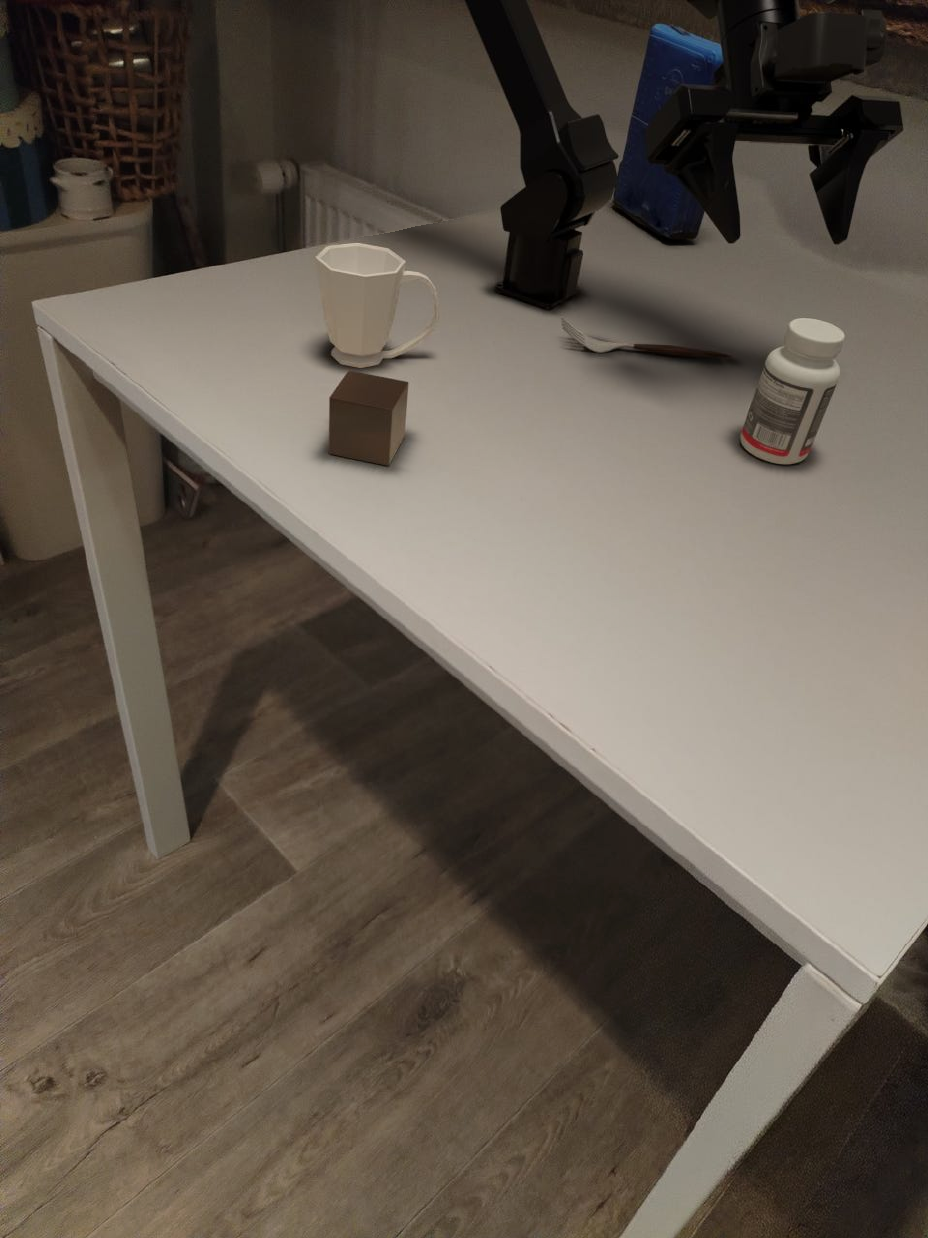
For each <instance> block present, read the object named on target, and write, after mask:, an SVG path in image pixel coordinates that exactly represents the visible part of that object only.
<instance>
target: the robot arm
mask: <svg viewBox="0 0 928 1238" xmlns="http://www.w3.org/2000/svg"><path fill="white" fill-rule="evenodd" d="M463 1H464V4H465V6H466V8H467V11H468V13H469V16H470V17H471V20H472V22H473V24H474V26H475V30H476V31H477V34H478V36H479V39H480V41H481V43H482V46H483V47H484V50H485V52H486V54H487V57H488V59H489V62H490V64H491V66H492V69H493V71H494V73H495V76H496V78H497V80H498V83H499V85H500V88H501V90H502V92H503V95H504V97H505V99H506V101H507V104H508V106H509V108H510V111H511V113H512V115H513V118H514V120H515V123H516V125H517V128H518V130H519V135H520V137H519V139H520V141H519V145H520V146H519V147H520V148H519V149H520V150H519V151H520V154H519V156H520V157H519V161H520V163H519V167H520V172H521V175H522V176H521V177H522V179H523V183H524V187H523V188H522V189H521V190H519V191H518V192H516V193H515V194H514V195H513V196H511V197H510V198H509V199H508V200H507V201H505V202H504V203H503V204H501V206H500V207H499V208H500V216H501V217H500V218H501V224H502V230H503V231H504V232H507V233H508V238H507V247H506V253H505V254H506V255H505V262H504V267H503V276H502V280H500V281H498V282H496V283H495V284H494V287H493V290H494V291H495V292H498V293H501V294H504V295H507V296H510V297H513V298H516V299H518V300H522V301H524V302H528V303H531V304H533V305H536V306H539V307H542V308H545V309H553V308H555V307H556V306H558V305H559V304H561V303H563V302H564V301H566V300H567V299H569V298H570V297H572V296H574V295H575V294H577V293H578V292H579V287H580V286H578V283H579V278H580V273H581V267H582V262H583V257H584V251H583V250H582V249H580V247H581V242H582V237H583V232H582V231H580V230H577V229H579V228H581V227H586V226H588V225H590V222H591V220H592V218H593V217H594V215H595V213H596V212H598V211H600V210H602V209H603V208H604V207H605V206H607V204H608V203H609V202H610V201H611V198H613V196H614V190H615V184H616V183H617V174H618V171H617V167H616V164H615V162H614V161H615V160H617V159H619V157H620V155H619V154H618V153H617V152H616V151H615V149H614V148H613V147H612V145H611V143H610V142H609V139H608V136H607V132H606V127H605V124H604V121H603V119H602V117H601V115H600V114H598V113H596V114H592V115H589V116H585V117H582V116H581V115H580V114H579V113H578V112H577V111H576V110H575V109H574V108H573V107H572V106H571V104H570V102H569V101H568V98H567V95H566V93H565V91H564V89H563V86H562V84H561V81H560V79H559V75H558V73H557V72H556V69H555V67H554V65H553V61H552V59H551V57H550V55H549V53H548V49H547V47H546V45H545V42H544V40H543V37H542V35H541V32H540V30H539V28H538V25H537V23H536V21H535V20H536V19H535V18H534V16H533V13H532V11H531V9H530V6H529V3H528V1H527V0H463ZM822 1H823V2H824V3H826V4H828V5H829V4H831V3H833V2H835V1H836V0H822ZM685 2H687V3H688V4H689V5H690V6H691V7H692V8H694V9H695V10H696V11H697V12H698V13H699V14H700V15H702V16H703V17H704V18H706V20H713V19H714V18H716V21H717V28H718V36H719V40H720V41H719V42H720V43H719V44H720V45H721V50H722V58H723V62H722V64H721V65H720V66H719V67H718V68H717V70H716V71H715V72H714V78H715V86H707V85H691V84H680V85H679V86H678V87H677V89H676V90H675V91H674V92H673V93H672V95H671V96H670V97H669V99H668V100H667V101H666V102H665V104H664V105H663V106H662V107H661V109H660V110H659V111H658V112H657V114H656V115H655V116H654V118H653V119H652V120H651V121H650V123H649V124H648V125H647V127H646V132H645V136H644V142H645V150H646V158H647V160H648V162H649V163H650V164H664V165H663V169H664V172H665V173H666V174H672V175H674V176H675V177H676V178H677V179H678V180H679V181H680V182H681V184H682V185H683V186H684V187H685V188H686V189H687V190H688V191H689V193H690V194H691V195H692V196H693V197H694V198H695V199H696V201H697V202H698V203H699V204H700V206H701V207H702V208H703V210H704V211H705V212H704V213H705V214H706V215H707V216H708V218H709V219H710V220H711V222H712V223H713V225H714V226H715V227H716V229H717V230H718V231H719V233H720V234H721V236H722V237H723V238H724V240H725V241H726V243H727V244H729V245H731V244H735V243H736V242H737V241H739V240H740V238H741V214H740V213H741V212H740V207H739V198H738V192H737V183H736V177H735V169H734V163H733V161H734V160H733V156H734V155H733V153H734V149H735V145H736V142H749V143H750V144H764V145H765V144H768V145H769V144H770V145H771V144H772V145H789V146H791V145H792V146H807V149H808V157H809V161H810V162H811V163H812V164H813V165H814V166H815V167H816V168H815V169H813V171H810V173H809V178H810V182H811V183H812V187H813V190H814V193H815V196H816V199H817V203H818V205H819V209H820V211H821V215H822V218H823V221H824V224H825V227H826V230H827V233H828V234H829V236H830V239H831V241H832V244H834V245H837V246H839V245H841V244H842V243H844V242H845V241H846V240H847V239H848V237H849V232H850V229H851V225H852V220H853V215H854V211H855V207H856V201H857V197H858V193H859V188H860V185H861V181H862V178H863V176H864V172H865V169H866V166H867V164H868V163H869V161H870V159H871V158H872V157H873V156H874V155H875V154H876V153H878V152H879V151H880V150H882V149H883V148H885V146H887V144H889V143H890V142H891V141H893V140H894V139H895V138H896V137H898V135H900V134H901V133H902V132H904V124H903V123H904V122H903V116H902V109H901V102H900V101H899V100H897V99H894V98H892V97H889V96H877V95H875V96H874V95H860V94H851V95H850V96H849V97H848V98H847V99H845V100H844V101H843V102H842V103H841V104H840V105H839V106H838V107H837V108H835V109H834V110H833V111H832V112H831V113H830V114H829V115H827V114H826V115H824V114H813V112H814V111H813V106H814V105H815V104H816V103H823V102H824V101H825V100H826V99H827V98H828V97H829V96H831V94H832V93H833V87H832V82H834V81H838V80H840V79H843V78H845V77H847V76H850V75H854V76H858V75H860V74H862V73H864V72H865V71H866V68H867V67H870V66H872V65H875V64H877V63H879V62H881V60H882V59H883V57H884V55H885V53H886V50H887V39H888V31H887V26H886V23H885V22H886V21H885V18H884V15H883V11H882V10H877V9H868V8H867V9H865V8H862V9H860V10H859V11H858V14H855V13H846V12H845V13H844V12H834V11H818V12H817V11H816V12H812V13H809V14H806V15H804V16H802V17H801V12H800V5H799V3H800V2H799V0H685ZM722 86H726V87H727V89H726V88H724V87H722Z"/></svg>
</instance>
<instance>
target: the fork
mask: <svg viewBox="0 0 928 1238" xmlns="http://www.w3.org/2000/svg"><path fill="white" fill-rule="evenodd" d="M560 319H561V321H560V322H561V323H562V324H561V326H562V330H563V331H564V332H566V333H567V334H568V335H569V336H570V337H571V338H572V339H573V340H575V341H576V342H577V343H579V344H580V345H581V346H583V347H585V348H586V349H588V350H590V351H592V352H594V353H598V354H602V353H607V352H611V351H613V350H616V349H619V348H627V349H633V350H639V351H643V352H644V351H645V352H650V353H656V354H661V355H668V356H678V357H679V356H680V357H683V356H684V357H702V358H714V359H715V358H716V359H717V358H718V359H729V358H732V355H731V354H728V353H724V352H719V351H713V350H708V349H707V350H706V349H699V348H692V347H687V346H682V345H681V346H680V345H670V344H655V343H654V344H652V343H625V342H624V343H623V342H614V341H613V342H612V341H610V342H609V341H604V340H600V339H599V340H598V339H595V338H592V337H590V336H588V335H586V334H585V333H583V332H581V331H580V330H578V329H577V328H576V327H575V326H573V324H571V323H570V322H569V321H567V320H566V319H565V318H564V317H563V316H560Z"/></svg>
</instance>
